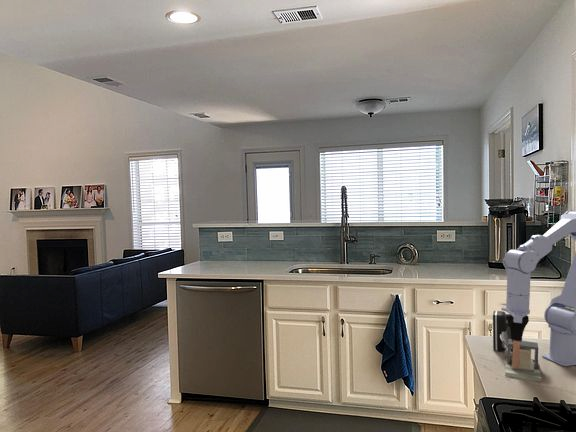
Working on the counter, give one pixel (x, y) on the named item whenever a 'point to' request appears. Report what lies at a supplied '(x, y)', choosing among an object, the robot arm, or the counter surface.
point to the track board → (522, 372)
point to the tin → (507, 336)
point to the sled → (521, 358)
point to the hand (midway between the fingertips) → (516, 341)
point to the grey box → (525, 345)
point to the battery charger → (499, 329)
